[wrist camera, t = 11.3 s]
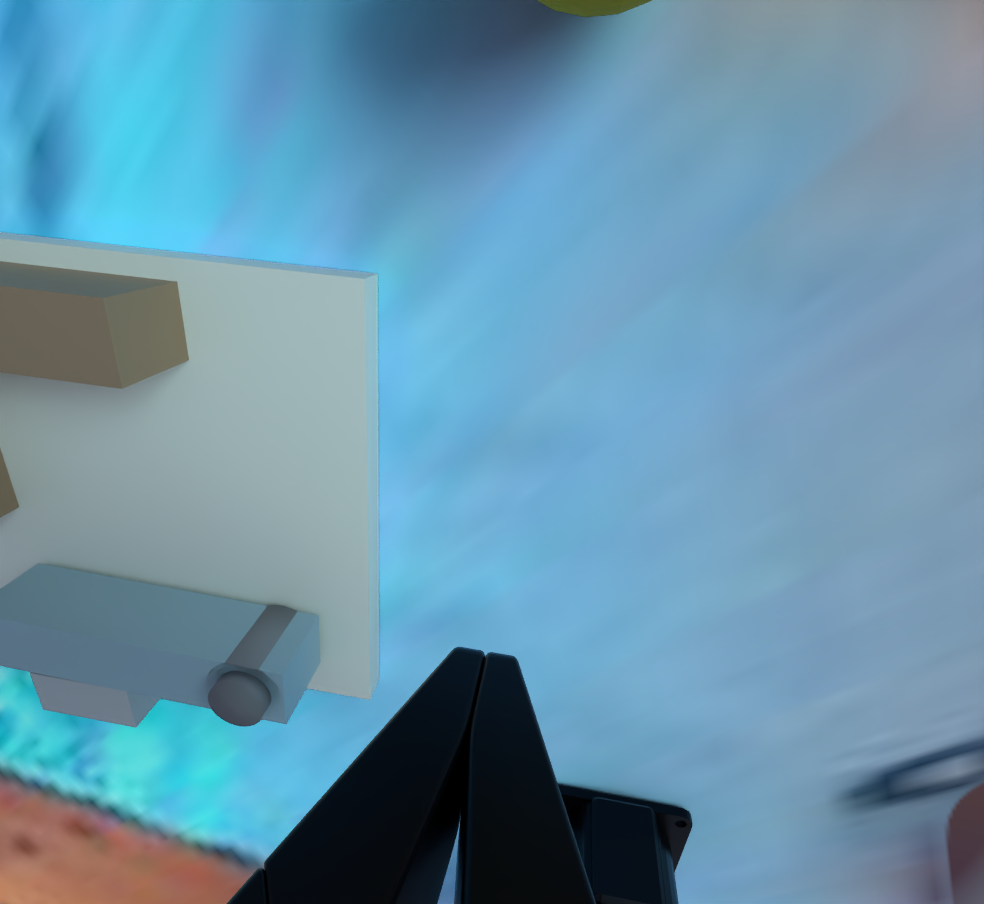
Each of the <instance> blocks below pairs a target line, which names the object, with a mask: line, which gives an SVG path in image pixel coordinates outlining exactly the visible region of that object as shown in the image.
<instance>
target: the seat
mask: <svg viewBox="0 0 984 904" xmlns="http://www.w3.org/2000/svg"><path fill="white" fill-rule="evenodd" d="M38 563H41V564H46V565H52V566H57V567H62V568H68V569H73V570H78V571H84V572H89V573H95V574H100V575H105V576H111V577H116V578H121V579H127V580H132V581H137V582H143V583H148V584H153V585H159V586H164V587H169V588H175V589H180V590H186V591H191V592H196V593H202V594H207V595H212V596H218V597H223V598H228V599H234V600H239V601H244V602H250V603H255V604H260V605H266V606H269V605H281V606H286V607H289V608H292V609H294V610H296V611H298V612H303V613H309V614H314V615H319V632H320V660H321V662H320V664H319V666H318V668H317V670H316V671H315V673H314V675H313V677H312V679H311V680H310V682H309V684H308V686H307V689H313V690H318V691H324V692H329V693H335V694H340V695H346V696H351V697H357V698H362V699H368V700H370V699H371V697H372V694H373V692H374V690H375V687H376V685H377V682H378V680H379V451H378V274H377V273H368V272H358V271H349V270H340V269H331V268H322V267H313V266H304V265H295V264H286V263H277V262H268V261H258V260H249V259H240V258H231V257H222V256H213V255H204V254H195V253H186V252H177V251H168V250H158V249H149V248H140V247H131V246H122V245H113V244H104V243H95V242H86V241H77V240H68V239H58V238H49V237H40V236H31V235H22V234H13V233H4V232H0V589H1V588H2V587H4V586H5V585H7V584H8V583H10V582H11V581H13V580H14V579H16V578H17V577H19V576H20V575H21V574H23V573H24V572H26V571H27V570H29V569H30V568H32V567H33V566H35V565H36V564H38ZM30 675H31V678H32V680H33V683H34V686H35V688H36V691H37V694H38V697H39V699H40V702H41V705H42V707H43V709H44V710H49V711H54V712H59V713H64V714H69V715H74V716H80V717H85V718H90V719H95V720H100V721H105V722H110V723H116V724H121V725H126V726H131V727H137V726H138V725H139V723H140V722H141V721H142V720H143V719H144V717H145V716H146V715H147V714H148V712H149V711H150V710H151V709H152V708H153V706H154V705H155V704H156V703H157V702H158V700H159V699H160V698H156V697H151V696H146V695H141V694H136V693H131V692H126V691H121V690H117V689H112V688H107V687H102V686H97V685H92V684H87V683H82V682H77V681H72V680H68V679H63V678H58V677H53V676H48V675H43V674H38V673H33V672H30Z"/></svg>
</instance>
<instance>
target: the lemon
mask: <svg viewBox="0 0 984 904" xmlns="http://www.w3.org/2000/svg"><path fill="white" fill-rule="evenodd" d="M537 1H539V2H541V3H542V4H544V5H546V6H548V7H549V8H551V9H553V10H555V11H559V12H564V13H569V14H573V15H578V16H583V17H592V16H603V15H614V14H619V13H622V12H624V11H627V10H629V9H632V8H634V7H637V6H639V5H642V4H645V3H647V2H650V1H651V0H537Z"/></svg>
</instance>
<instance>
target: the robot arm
mask: <svg viewBox="0 0 984 904" xmlns="http://www.w3.org/2000/svg"><path fill="white" fill-rule="evenodd" d="M460 817H461V819H460ZM459 822H460V829H459V840H458V851H457V866H456V882H455V898H454V904H678V897H677V889H676V882H675V875H674V872H675V870H676V867H677V864H678V862H679V859H680V857H681V854H682V851H683V849H684V846H685V844H686V841H687V839H688V836H689V833H690V831H691V828H692V818H691V814H690V812H689V811H687V810H685V809H682V808H677V807H672V806H667V805H661V804H656V803H651V802H646V801H640V800H635V799H630V798H625V797H619V796H614V795H609V794H604V793H598V792H593V791H588V790H583V789H577V788H572V787H567V786H562V785H558V784H557V781H556V778H555V774H554V771H553V768H552V765H551V762H550V759H549V756H548V753H547V750H546V746H545V743H544V740H543V737H542V734H541V731H540V728H539V725H538V722H537V719H536V715H535V712H534V709H533V706H532V703H531V700H530V697H529V694H528V691H527V687H526V684H525V681H524V678H523V675H522V672H521V669H520V666H519V663H518V661H517V659H516V658H515V657H514V656H510V655H505V654H499V653H493V652H490V653H488V654H487V655H486V657H485V654H484V652H483V651H481V650H476V649H470V648H464V647H456V648H454V649H453V650H452V651H451V652H450V653H449V654H448V656H447V657H446V658H445V659H444V660H443V661H442V662H441V663H440V665H439V666H438V667H437V668H436V669H435V670H434V671H433V672H432V674H431V675H430V676H429V677H428V678H427V679H426V680H425V681H424V683H423V684H422V685H421V686H420V687H419V688H418V689H417V690H416V692H415V693H414V694H413V695H412V696H411V697H410V698H409V700H408V701H407V702H406V703H405V704H404V705H403V706H402V707H401V709H400V710H399V711H398V712H397V713H396V714H395V715H394V716H393V718H392V719H391V720H390V721H389V722H388V723H387V724H386V725H385V727H384V728H383V729H382V730H381V731H380V732H379V733H378V734H377V736H376V737H375V738H374V739H373V740H372V741H371V742H370V743H369V745H368V746H367V747H366V748H365V749H364V750H363V751H362V752H361V754H360V755H359V756H358V757H357V758H356V759H355V760H354V761H353V763H352V764H351V765H350V766H349V767H348V768H347V769H346V770H345V772H344V773H343V774H342V775H341V776H340V777H339V778H338V779H337V781H336V782H335V783H334V784H333V785H332V786H331V787H330V788H329V790H328V791H327V792H326V793H325V794H324V795H323V796H322V797H321V799H320V800H319V801H318V802H317V803H316V804H315V805H314V806H313V808H312V809H311V810H310V811H309V812H308V813H307V814H306V815H305V817H304V818H303V819H302V820H301V821H300V822H299V823H298V824H297V826H296V827H295V828H294V829H293V830H292V831H291V832H290V833H289V835H288V836H287V837H286V838H285V839H284V840H283V841H282V842H281V844H280V845H279V846H278V847H277V848H276V849H275V850H274V852H273V853H272V854H271V855H270V856H269V857H268V858H267V859H266V861H265V863H264V869H265V871H264V869H263V868H259V869H257V870H256V871H255V872H254V874H253V875H252V876H251V877H250V878H249V879H248V880H247V881H246V883H245V884H244V885H243V886H242V887H241V888H240V889H239V890H238V892H237V893H236V894H235V895H234V896H233V897H232V898H231V899H230V901H229V902H228V903H227V904H437V903H438V899H439V896H440V892H441V889H442V885H443V882H444V878H445V875H446V871H447V868H448V864H449V861H450V857H451V854H452V850H453V847H454V843H455V839H456V835H457V831H458V827H459Z"/></svg>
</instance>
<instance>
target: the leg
mask: <svg viewBox="0 0 984 904" xmlns="http://www.w3.org/2000/svg"><path fill="white" fill-rule="evenodd" d="M320 662H321V660H320V632H319V615H314V614H309V613H303V612H298V611H296V610H294V609H292V608H289V607H286V606H281V605H269V606H266V605H260V604H255V603H250V602H244V601H239V600H234V599H228V598H223V597H218V596H212V595H207V594H202V593H196V592H191V591H186V590H180V589H175V588H169V587H164V586H159V585H153V584H148V583H143V582H137V581H132V580H127V579H121V578H116V577H111V576H105V575H100V574H95V573H89V572H84V571H78V570H73V569H68V568H62V567H57V566H52V565H46V564H41V563H38V564H36V565H35V566H33V567H32V568H30V569H29V570H27V571H26V572H24V573H23V574H21V575H20V576H19V577H17V578H16V579H14V580H13V581H11V582H10V583H8V584H7V585H5V586H4V587H2V588H1V589H0V666H4V667H9V668H14V669H19V670H24V671H28V672H33V673H38V674H43V675H48V676H53V677H58V678H63V679H68V680H72V681H77V682H82V683H87V684H92V685H97V686H102V687H107V688H112V689H117V690H121V691H126V692H131V693H136V694H141V695H146V696H151V697H156V698H161V699H165V700H170V701H175V702H180V703H185V704H190V705H195V706H200V707H205V708H209V709H212V710H213V711H214V713H215V714H216V715H217V716H219V717H220V718H221V719H223V720H225V721H226V722H229V723H231V724H234V725H238V726H251V725H254V724H256V723H258V722H259V721H260V720H268V721H273V722H278V723H283V724H287V722H288V720H289V719H290V717H291V715H292V713H293V711H294V709H295V708H296V706H297V704H298V702H299V700H300V699H301V697H302V695H303V693H304V691H305V690H306V688H307V686H308V684H309V682H310V680H311V679H312V677H313V675H314V673H315V671H316V670H317V668H318V666H319V664H320Z"/></svg>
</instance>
